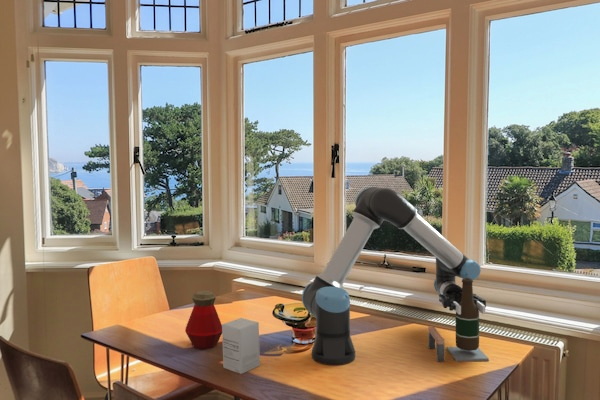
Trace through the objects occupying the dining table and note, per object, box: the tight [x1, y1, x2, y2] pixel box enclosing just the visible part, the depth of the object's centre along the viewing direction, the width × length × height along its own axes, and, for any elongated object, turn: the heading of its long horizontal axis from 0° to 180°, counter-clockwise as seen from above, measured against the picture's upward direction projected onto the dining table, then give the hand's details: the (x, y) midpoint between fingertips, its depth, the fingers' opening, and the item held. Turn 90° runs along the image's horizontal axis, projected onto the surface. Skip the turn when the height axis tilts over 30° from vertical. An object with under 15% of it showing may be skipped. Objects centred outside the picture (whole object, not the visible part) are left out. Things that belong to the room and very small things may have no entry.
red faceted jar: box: [185, 290, 223, 350], centre depth 185 cm, size 16×14×20 cm
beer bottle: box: [455, 278, 480, 351], centre depth 170 cm, size 8×8×24 cm
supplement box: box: [221, 317, 261, 375], centre depth 163 cm, size 9×9×15 cm
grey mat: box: [446, 346, 490, 362], centre depth 171 cm, size 11×11×1 cm
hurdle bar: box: [427, 326, 445, 345], centre depth 172 cm, size 2×14×2 cm, turn 178°
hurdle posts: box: [427, 331, 445, 363], centre depth 172 cm, size 2×14×6 cm, turn 179°
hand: (471, 310), depth 165 cm, fingers closed on beer bottle, 7 cm apart
